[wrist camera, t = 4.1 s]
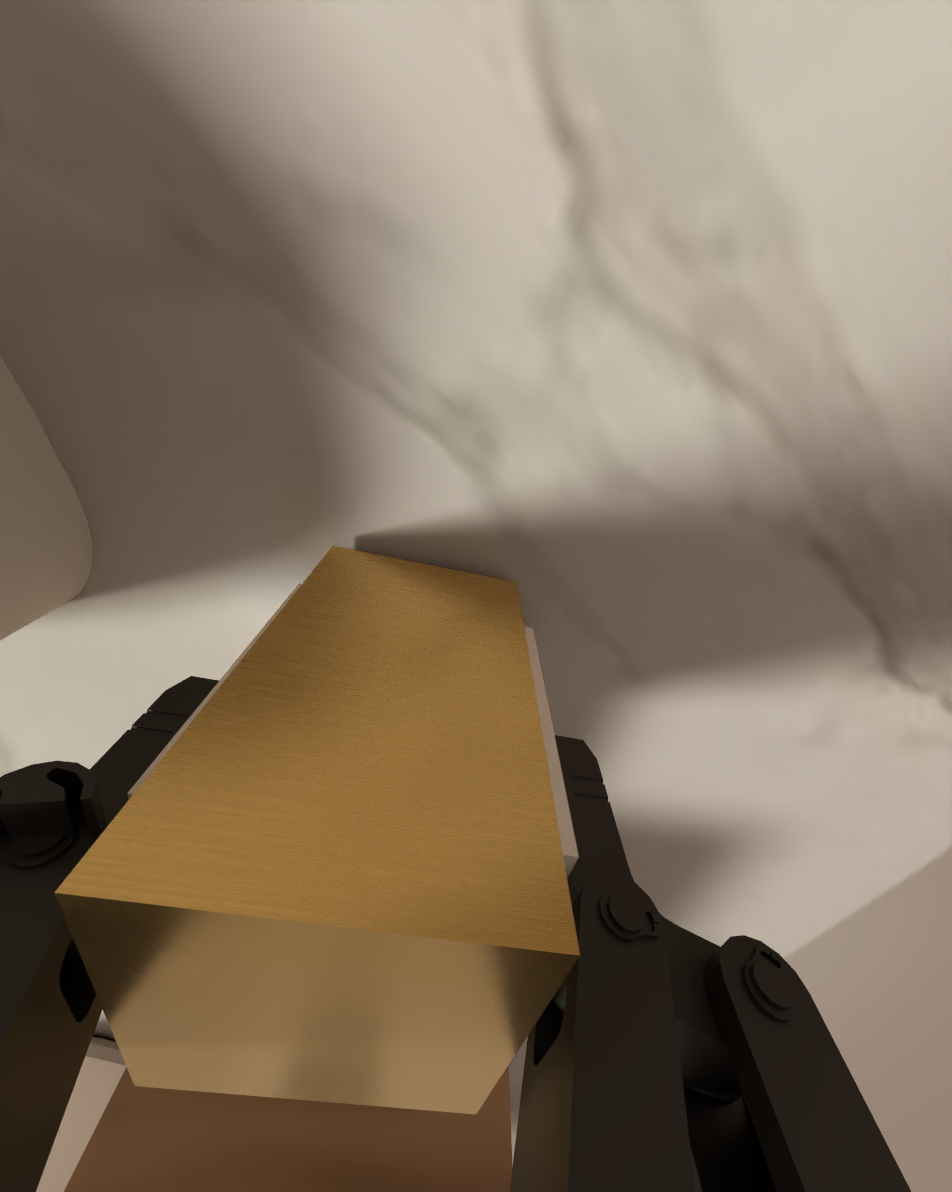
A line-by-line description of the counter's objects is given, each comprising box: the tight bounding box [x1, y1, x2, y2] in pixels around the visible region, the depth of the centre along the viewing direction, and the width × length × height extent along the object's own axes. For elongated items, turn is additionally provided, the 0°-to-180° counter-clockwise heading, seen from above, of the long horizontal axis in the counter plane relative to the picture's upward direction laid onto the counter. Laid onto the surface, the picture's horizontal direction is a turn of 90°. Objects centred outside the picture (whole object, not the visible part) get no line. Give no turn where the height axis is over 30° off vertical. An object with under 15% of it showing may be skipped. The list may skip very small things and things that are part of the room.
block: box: [64, 1066, 512, 1192], centre depth 15 cm, size 10×10×11 cm
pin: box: [54, 546, 580, 1114], centre depth 12 cm, size 19×5×9 cm, turn 168°
